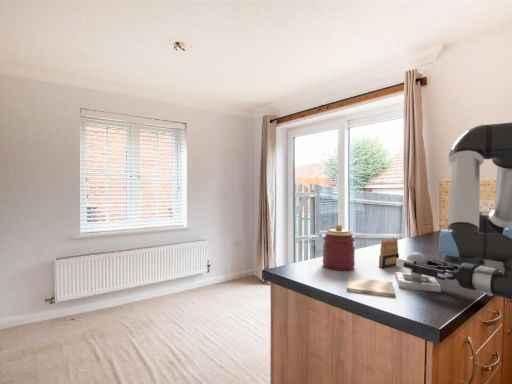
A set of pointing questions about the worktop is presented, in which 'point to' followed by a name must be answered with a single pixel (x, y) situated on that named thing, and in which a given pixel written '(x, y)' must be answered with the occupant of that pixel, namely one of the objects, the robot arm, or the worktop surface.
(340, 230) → the canister
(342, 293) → the worktop surface
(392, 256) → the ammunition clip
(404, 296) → the worktop surface
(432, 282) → the collar holder
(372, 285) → the birch board
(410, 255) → the lightbulb
